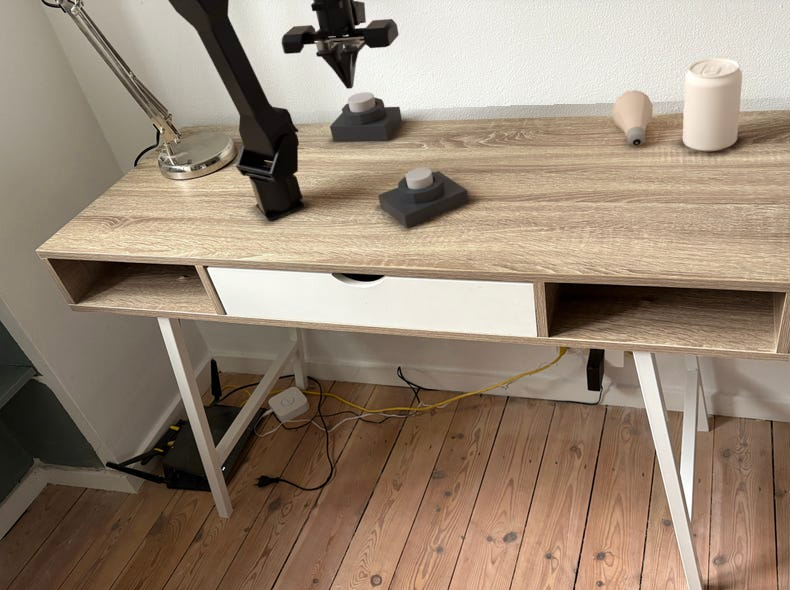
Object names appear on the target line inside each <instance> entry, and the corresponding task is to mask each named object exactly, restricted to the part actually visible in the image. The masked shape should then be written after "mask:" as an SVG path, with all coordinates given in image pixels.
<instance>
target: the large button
mask: <svg viewBox="0 0 790 590" xmlns="http://www.w3.org/2000/svg"><path fill="white" fill-rule="evenodd" d="M374 97H375V95H374V93H373V92H371V91H370V92H369V91H364V92H363V91H362V92H358V93H355V94H353V95H351V96H349V97H348V99H347V102H348V103H349V107H350V111H351V112H364V111H368V110H370V109H372V108H374V107H375V106H376V104H375V99H374ZM348 103H347V104H348Z"/></svg>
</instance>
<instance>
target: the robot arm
mask: <svg viewBox="0 0 790 590" xmlns="http://www.w3.org/2000/svg"><path fill="white" fill-rule="evenodd" d="M167 1H168V2H169V3H170V5H171V7H172V8H173V9H174V10H175V12H176V13H177V14H178V15H180V16H181V17H182V18H183V19H184V20H185V21H186V22H187V23H188V24H189V25H190V26H191V27H193V28H194V29H195V31H196V32H197V35H198V37H199V39H200V41H201V42H202V44H203V46H204V49H205V51H206V52H207V54H208V56H209V58H210V60H211V62H212V64H213V66H214V68H215V70H216V72H217V73H218V76H219V78H220V79H221V82H222V83H223V85H224V87H225V89H226V91H227V93H228V95H229V97H230V99H231V101H232V103H233V105H234V106H235V109H236V110H237V113H238V115H239V124H238V133H239V135H240V139H241V141H242V147H241V148H240V152H239V156H238V159H237V162H236V165H235V168H236V169H237V170H238V172H239V173H240V174H241V176H243V177H248V178H249V182H250V184H251V188H252V190H253V194H254V196H255V200H256V203H257V204H255V208H256V209H257V210H258V212H260V214H261V215H262V216H263V217H264V218H265V219H266V220H267V221H268V222H269V221H273V220H275V219H278V218H281V217H284V216H286V215H288V214H291V213H294V212H296V211H299V210H301V209H304V208H305V207H306V206H305V203H304V202H303V201H302V200H303V195H302V191H301V187H300V184H299V181H298V177H297V176H296V175H295V174H296V173H298V171H299V145H300V142H299V137H298V135H297V133H298V132H299V129H298V128H297V127H296V126H295V124H294V123H293V119H292V115H291V113H290V111H289V110H288V109H287V108H283V107H278V106H272V104H271V103H270V101H269V99H268V97H267V96H266V93H265V91H264V89H263V87H262V85H261V83H260V81H259V78H258V77H257V75H256V71H255V70H254V68H253V66H252V64H251V62H250V60H249V57H248V55H247V53H246V51H245V49H244V48H243V46H242V43H241V40H240V39H239V36H238V34H237V32H236V30H235V28H234V26H233V24H232V22H231V20H230V17H229V3H230V0H167ZM310 6H311V11H312V12H315V14H316V18H317V23H318V27H319V29H318V30H317V31H316V28H315V27H314V26H313V25H311V24H307V25H296V26H293V27H291V28H290V29H289V30H288V31H287V32H286V33H284V34H283V36H282V37H281V47H282V50H283V54H285V55H289V54H290V55H291V54H300V53H302V50H304V48H305V45H306V46H307V45H315V46H316V51H317V52H315V56H316V57H318V58H322V59H323V61H325V63H326V64H327V65H328V66H329V67H330V68H331V70H332V71H333V72H334V73H335V74H336V76H337V77H338V79H339V80H340V81H341V83H342V84H343V85H344V88H346V89H347V90H350V89H352V88H354V82H355V74H356V67H357V66H356V65H357V61H358V60H357V59H358V57H359V52H361V51H362V49H363V48H364V47H365V46H367V47H369V49H378V48H388V47H390V46H391V45H392V43H394V42H395V40H396V39H397V38H398V37H399V30H398V29H399V28H398V24H397V23H396V21H394V20H393V18H387V19H386V18H385V19H372V21H370V22H369V24H368V25H367V26H366V27H359V28H357V26H360V25H361V24H366V23H367V20H366V17H367V16H366V4H365V2H364V1H357V0H313V2H312V3H311V4H310Z"/></svg>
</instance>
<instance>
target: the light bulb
mask: <svg viewBox="0 0 790 590" xmlns="http://www.w3.org/2000/svg"><path fill="white" fill-rule="evenodd" d="M653 110H654V105H653V103H652V101H651V99H650V97H649V95H647V94H646V93H645V92H644V91H641V90H628V91H625V92H624V93H621V94H620V95H619V96H617V99H615V101H614V103H613V105H612V109H611V113H612V115H611V117H612V120H613V121H614V124H615V125H616V126H617V128H619V129H620V130H622V131H623V132H624V135H625V137H626V139H627V143H628V145H629V146H631V147H634V148H635V147H640V146H642V145H643V144H644V143H645V141H646V127H648V125H649V123H650V122H651V120H652V118H653Z"/></svg>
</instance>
